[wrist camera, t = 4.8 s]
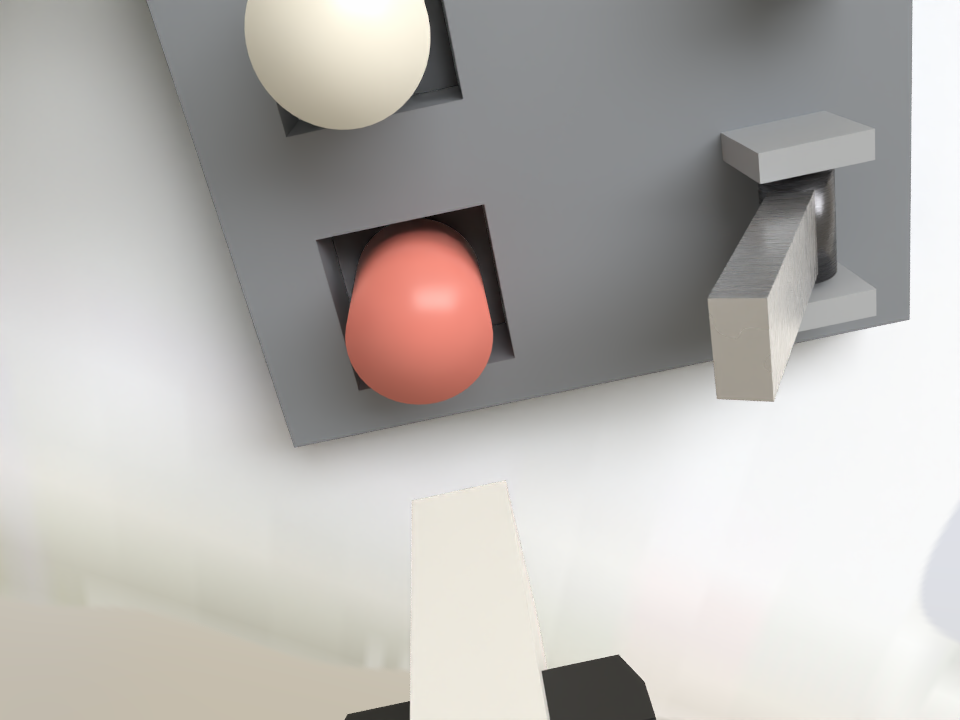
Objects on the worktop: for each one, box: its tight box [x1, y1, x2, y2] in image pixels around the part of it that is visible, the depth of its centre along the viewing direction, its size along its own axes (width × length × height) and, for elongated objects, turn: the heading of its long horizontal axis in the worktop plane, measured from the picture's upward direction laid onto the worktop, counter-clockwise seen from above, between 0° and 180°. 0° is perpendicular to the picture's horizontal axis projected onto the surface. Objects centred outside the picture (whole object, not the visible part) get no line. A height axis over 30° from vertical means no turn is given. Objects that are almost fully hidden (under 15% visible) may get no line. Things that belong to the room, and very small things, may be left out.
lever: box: [707, 168, 837, 402], centre depth 22 cm, size 2×3×9 cm, turn 12°
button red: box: [345, 218, 493, 405], centre depth 26 cm, size 4×4×5 cm
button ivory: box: [244, 0, 430, 130], centre depth 21 cm, size 4×4×5 cm
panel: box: [146, 0, 912, 447], centre depth 25 cm, size 20×16×6 cm
